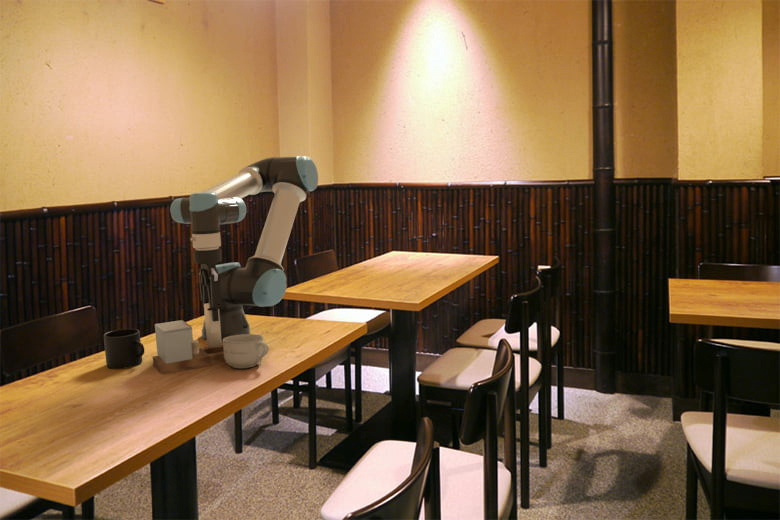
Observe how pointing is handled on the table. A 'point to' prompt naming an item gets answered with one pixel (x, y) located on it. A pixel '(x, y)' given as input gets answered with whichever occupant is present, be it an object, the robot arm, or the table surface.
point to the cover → (174, 341)
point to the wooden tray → (199, 359)
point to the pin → (212, 338)
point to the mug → (123, 348)
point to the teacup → (244, 350)
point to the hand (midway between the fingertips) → (213, 330)
